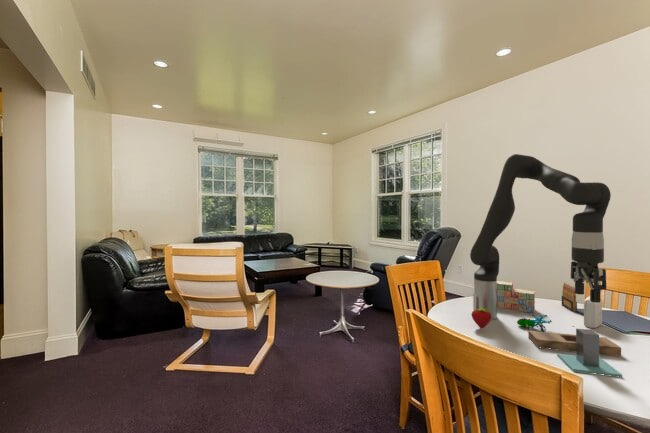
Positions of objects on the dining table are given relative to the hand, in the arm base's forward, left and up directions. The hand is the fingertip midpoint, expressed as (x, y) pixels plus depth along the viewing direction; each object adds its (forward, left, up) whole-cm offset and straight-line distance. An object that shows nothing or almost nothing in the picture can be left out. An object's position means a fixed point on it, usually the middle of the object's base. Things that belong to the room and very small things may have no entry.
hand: (587, 297), depth 91 cm
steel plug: (0, 0, -21) cm, 21 cm away
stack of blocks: (-6, +57, -22) cm, 62 cm away
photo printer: (+21, +40, -22) cm, 50 cm away
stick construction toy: (-4, +28, -22) cm, 36 cm away
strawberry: (-25, +24, -22) cm, 41 cm away
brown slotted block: (+2, +14, -22) cm, 26 cm away
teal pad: (0, 0, -22) cm, 22 cm away
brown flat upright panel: (+22, +62, -22) cm, 69 cm away
